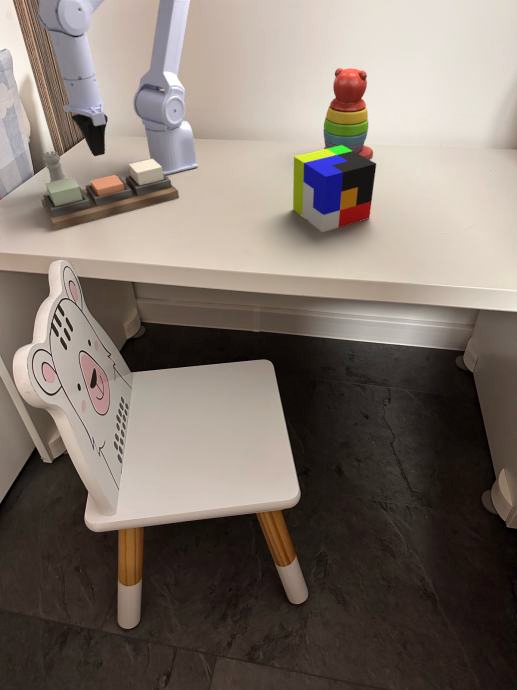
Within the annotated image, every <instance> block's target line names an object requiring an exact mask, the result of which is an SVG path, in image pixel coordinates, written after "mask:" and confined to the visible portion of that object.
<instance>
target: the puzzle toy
mask: <svg viewBox="0 0 517 690" xmlns="http://www.w3.org/2000/svg"><path fill="white" fill-rule="evenodd" d="M376 168H377V163H376V162H375V161H372V160H370V159H367V158H365V157H363V156H361V155H359V154H357V153H356V152H354V151H352V150H350V149H348V148H346V147H344V146H343V145H340V146H336V147H332V148H328V149H324V148H323V149H320V150H315V151H312V152H307V153H304V154H303V153H302V154H298V155H295V156H293V187H292V188H293V189H292V191H293V193H292V194H293V195H292V197H293V199H292V201H293V202H292V210H293V209H294V210H295V211H294V210H293V211H294V212H296V213H297V212H298V213H299V214H300V215H299V214H298V213H297V214H298V215H299V216H301V215H302V216H303V217H304V218H303V217H302V216H301V217H302V218H303V219H305V220H306V219H307V220H308V221H309V222H308V221H307V220H306V221H307V222H308V223H310V224H311V225H313V226H314V227H315V228H316V229H317V230H319V231H320V232H321V233H325V232H329V231H331V230H335V229H338V228H341V227H346V226H348V225H347V224H349V225H352V224H354V222H355V223H358V222H357V221H359V222H361V221H360V220H362V221H364V220H363V219H365V220H367V219H366V218H369V217H370V215H371V208H372V202H373V201H372V200H373V193H374V183H375V176H376ZM370 218H371V217H370ZM370 218H369V219H370ZM351 223H352V224H351Z"/></svg>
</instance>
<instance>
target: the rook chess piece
mask: <svg viewBox="0 0 517 690" xmlns="http://www.w3.org/2000/svg"><path fill="white" fill-rule="evenodd" d="M60 159H61V156H60V155H59V154H58V152H57V151H53V150H51V151H50V152H49V151H46V152H45V153H43V158H42V161H43V162H44V163H45V164H46V169H47V170H48V173H49V182H53V181H58V180H62V179H67V177H66V176H65V174H64V172H63V170H62V164H61V162H60Z"/></svg>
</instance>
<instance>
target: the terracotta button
mask: <svg viewBox="0 0 517 690" xmlns="http://www.w3.org/2000/svg"><path fill="white" fill-rule="evenodd" d="M89 181H90V184H91V186H92V190H93V192H94V193H95V195H96V196H97V197H99V196H103V195H107V194H111V193H115V192H119V191H124V190H125V189H124V185H123V183H122V182H121V180H120V179H119V177H118V176H117V175H116V174H112V175H108V176H104V177H100V178H95V179H91V180H89Z"/></svg>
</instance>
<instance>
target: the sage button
mask: <svg viewBox="0 0 517 690" xmlns="http://www.w3.org/2000/svg"><path fill="white" fill-rule="evenodd" d="M44 184H45V187H46V191H47V194H49V196H50V198H51V200H52V201H53V203H54V205H55V206H59V205H63V204H67V203H71V202H75V201H79V200H83V199H82V195H81V192H80V188H81V187H80V186H79V184H78V183H77V182H76V180H75V179H74V177H72V176H71V177H66V179H62V180H58V181H53V182H50V181H49V182H45V183H44ZM79 187H80V188H79Z"/></svg>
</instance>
